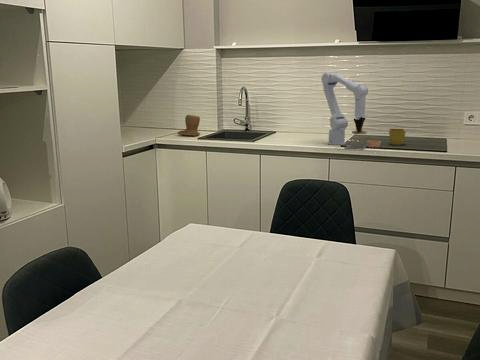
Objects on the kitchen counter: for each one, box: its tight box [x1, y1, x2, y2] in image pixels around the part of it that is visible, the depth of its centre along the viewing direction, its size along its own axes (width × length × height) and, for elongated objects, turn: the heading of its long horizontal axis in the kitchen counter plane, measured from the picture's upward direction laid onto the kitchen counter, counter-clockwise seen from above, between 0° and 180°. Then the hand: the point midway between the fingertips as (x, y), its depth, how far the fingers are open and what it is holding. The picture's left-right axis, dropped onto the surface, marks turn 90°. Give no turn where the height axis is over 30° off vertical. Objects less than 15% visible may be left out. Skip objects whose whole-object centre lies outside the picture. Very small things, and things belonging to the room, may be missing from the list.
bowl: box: [366, 139, 382, 148], centre depth 286 cm, size 8×8×3 cm
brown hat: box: [176, 114, 201, 137], centre depth 344 cm, size 15×12×15 cm
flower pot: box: [388, 128, 407, 146], centre depth 291 cm, size 9×9×9 cm
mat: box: [343, 144, 368, 151], centre depth 284 cm, size 11×11×1 cm
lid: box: [351, 126, 368, 135], centre depth 282 cm, size 9×9×4 cm
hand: (359, 130), depth 282 cm, fingers closed on lid, 3 cm apart
